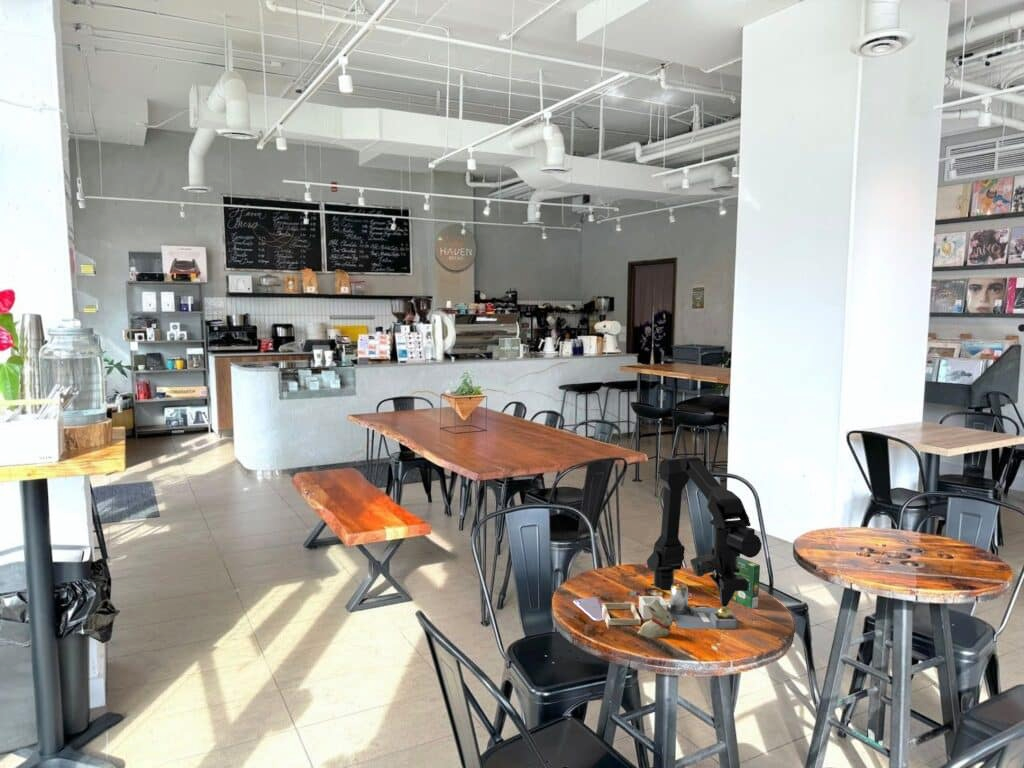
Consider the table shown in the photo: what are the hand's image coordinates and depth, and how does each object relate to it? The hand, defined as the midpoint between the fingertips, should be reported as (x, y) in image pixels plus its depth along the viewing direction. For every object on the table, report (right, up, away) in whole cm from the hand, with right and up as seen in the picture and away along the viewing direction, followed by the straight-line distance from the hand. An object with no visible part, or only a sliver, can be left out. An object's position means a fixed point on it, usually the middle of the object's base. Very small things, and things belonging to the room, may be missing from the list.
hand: (724, 606), depth 182 cm
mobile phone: (-31, -5, +13) cm, 34 cm away
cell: (-10, -4, +8) cm, 13 cm away
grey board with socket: (-5, -6, +4) cm, 9 cm away
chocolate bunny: (-19, -6, -6) cm, 21 cm away
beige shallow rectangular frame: (-26, -5, +5) cm, 27 cm away
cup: (-17, -5, +6) cm, 19 cm away
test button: (0, -3, 0) cm, 3 cm away
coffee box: (+10, -5, +14) cm, 18 cm away
